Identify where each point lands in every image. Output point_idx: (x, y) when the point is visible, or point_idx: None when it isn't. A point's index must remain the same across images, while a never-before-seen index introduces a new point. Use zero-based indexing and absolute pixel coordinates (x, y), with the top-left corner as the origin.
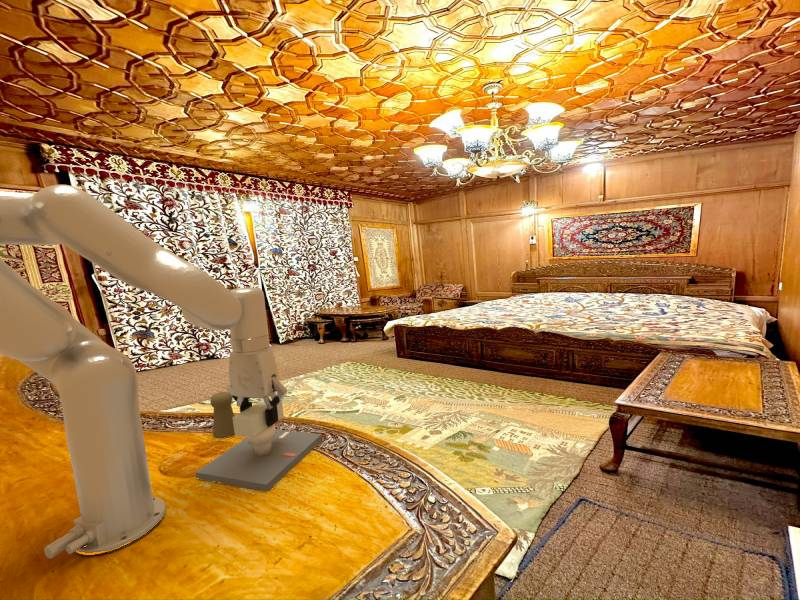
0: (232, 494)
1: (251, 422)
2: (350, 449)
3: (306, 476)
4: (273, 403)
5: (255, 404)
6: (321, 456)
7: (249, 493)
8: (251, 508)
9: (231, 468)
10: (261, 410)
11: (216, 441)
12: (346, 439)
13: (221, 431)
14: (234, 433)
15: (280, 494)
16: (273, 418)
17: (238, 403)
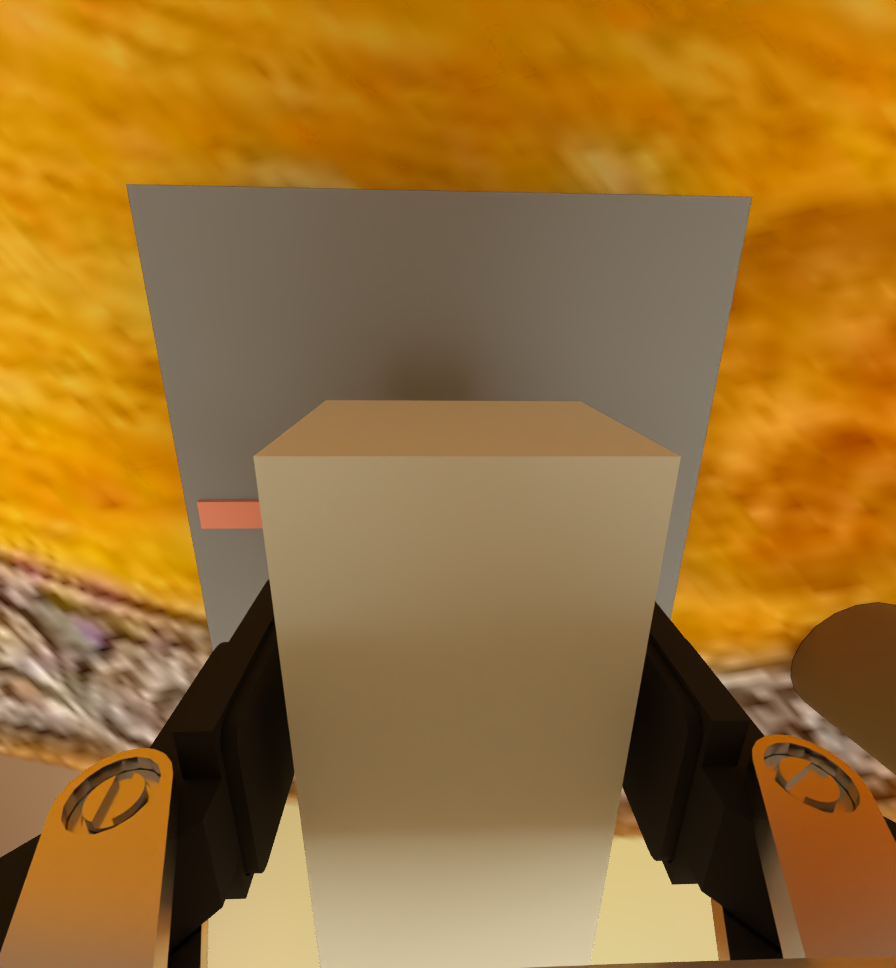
0: (358, 117)
1: (284, 440)
2: (20, 663)
3: (52, 394)
4: (9, 881)
5: (597, 846)
6: (124, 577)
7: (256, 155)
8: (116, 9)
9: (519, 299)
10: (352, 729)
11: (860, 580)
12: (115, 734)
13: (882, 641)
14: (797, 662)
15: (57, 195)
16: (210, 663)
17: (823, 789)
